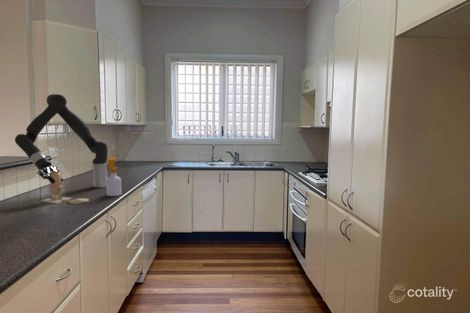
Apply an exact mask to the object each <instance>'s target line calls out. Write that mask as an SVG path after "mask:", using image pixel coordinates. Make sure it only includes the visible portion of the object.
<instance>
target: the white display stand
mask: <svg viewBox="0 0 470 313" xmlns="http://www.w3.org/2000/svg"><path fill="white" fill-rule="evenodd" d="M62 188H63V187H62ZM62 188H57V189H50V197H48V198H45V199H42V200H39V203H43V204H55V205H58V204H62V203H65V202H67V201H70V200H73V199H74V198H73V196H72V197H71V196H70V197H69V196H63V193H62V192H63V189H62Z"/></svg>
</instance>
